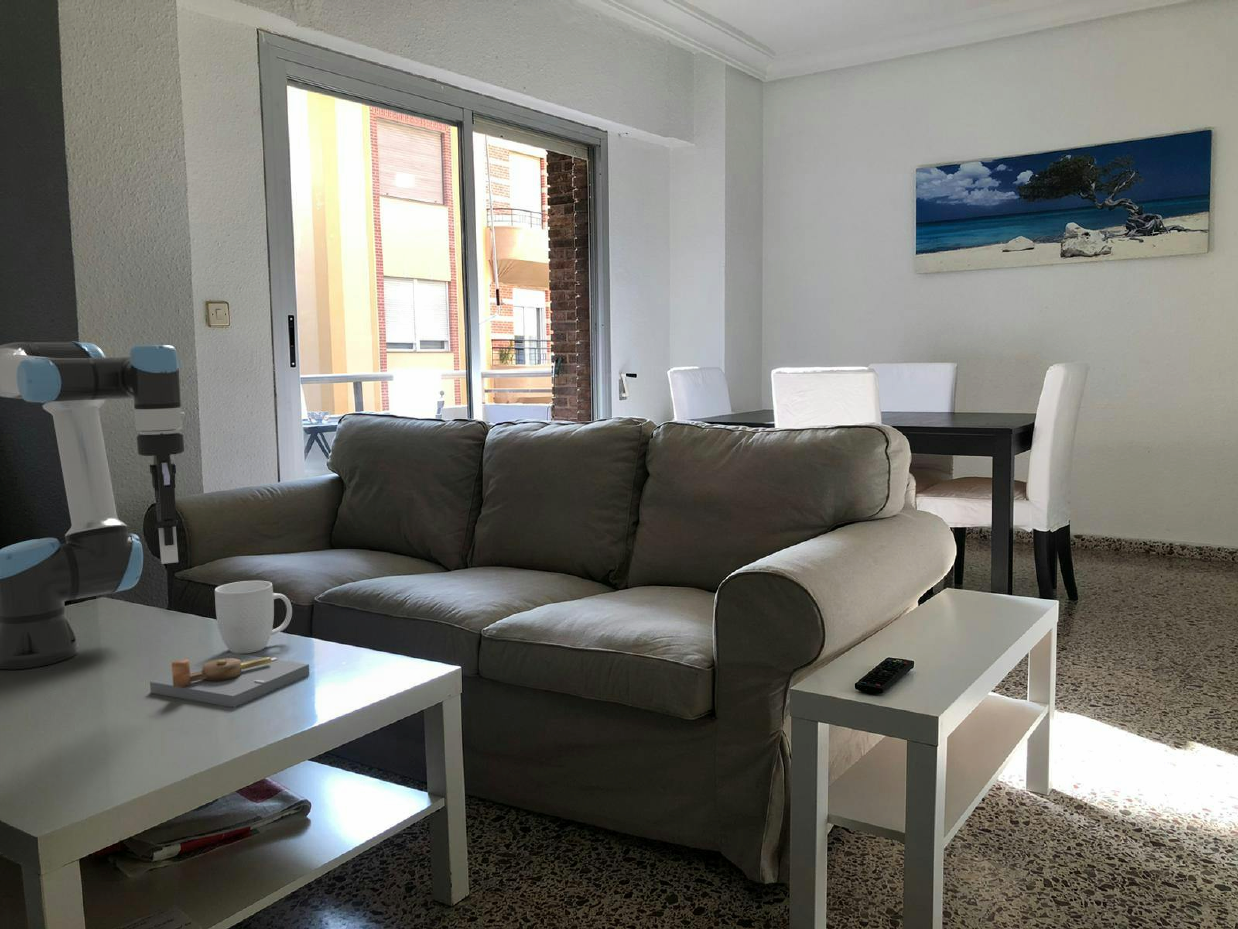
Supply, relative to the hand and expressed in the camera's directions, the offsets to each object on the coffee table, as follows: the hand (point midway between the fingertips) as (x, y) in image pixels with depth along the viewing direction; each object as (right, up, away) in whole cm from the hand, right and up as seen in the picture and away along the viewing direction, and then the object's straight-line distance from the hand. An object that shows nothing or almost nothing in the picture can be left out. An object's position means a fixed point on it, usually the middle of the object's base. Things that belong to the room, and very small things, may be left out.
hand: (169, 562), depth 174 cm
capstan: (+10, -20, -1) cm, 23 cm away
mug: (+6, -20, +23) cm, 31 cm away
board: (+11, -22, +1) cm, 25 cm away
